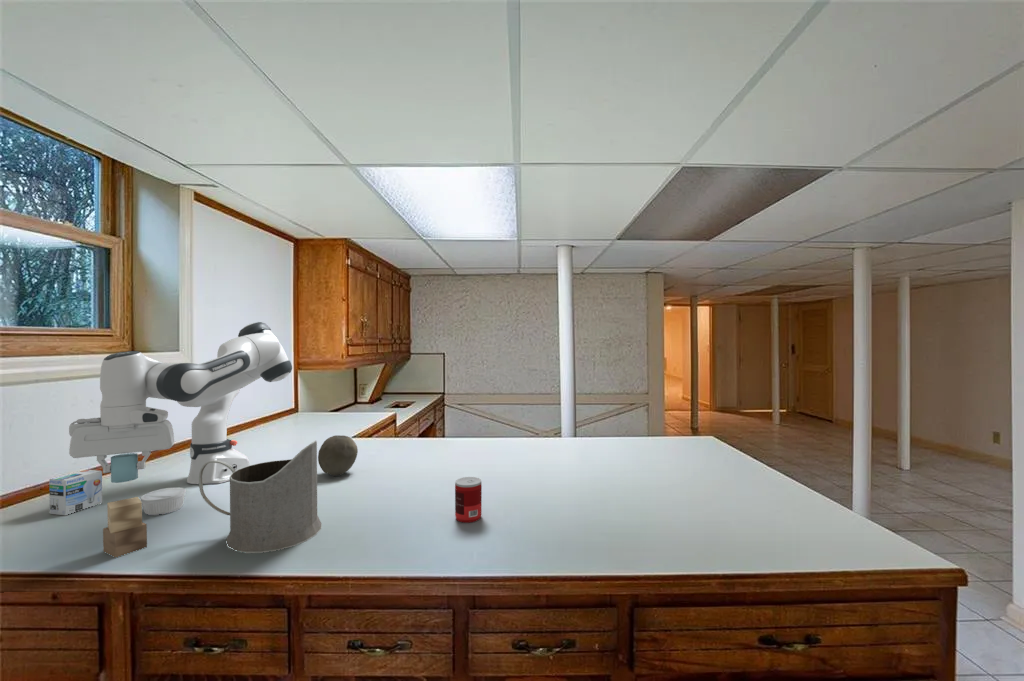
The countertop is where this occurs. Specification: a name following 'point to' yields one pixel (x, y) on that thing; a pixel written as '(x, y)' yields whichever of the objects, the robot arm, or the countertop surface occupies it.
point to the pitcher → (272, 503)
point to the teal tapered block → (124, 467)
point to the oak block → (124, 514)
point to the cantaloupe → (337, 455)
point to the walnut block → (124, 540)
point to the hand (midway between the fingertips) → (124, 470)
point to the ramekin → (163, 500)
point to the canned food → (468, 499)
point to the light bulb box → (75, 491)
